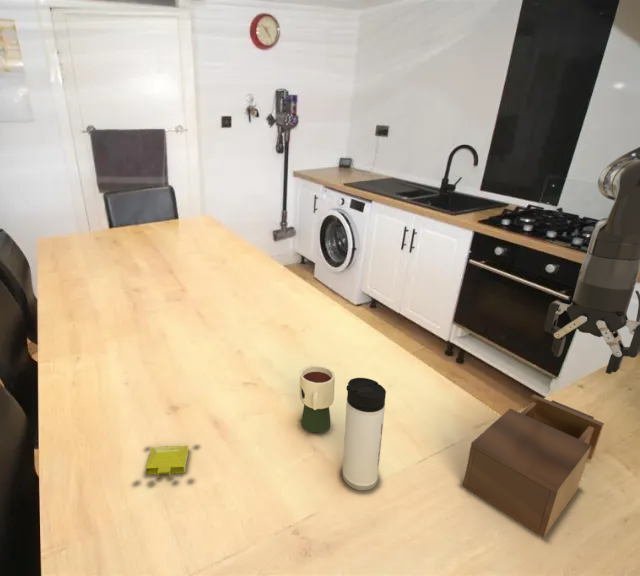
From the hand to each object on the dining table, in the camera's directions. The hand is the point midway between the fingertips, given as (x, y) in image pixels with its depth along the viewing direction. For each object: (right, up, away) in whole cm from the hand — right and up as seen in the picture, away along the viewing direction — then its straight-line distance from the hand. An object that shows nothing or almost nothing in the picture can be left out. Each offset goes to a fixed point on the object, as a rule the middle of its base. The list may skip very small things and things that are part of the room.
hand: (582, 363), depth 76 cm
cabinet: (-14, -21, -4) cm, 26 cm away
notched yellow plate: (-77, -20, +3) cm, 80 cm away
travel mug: (-42, -21, -1) cm, 47 cm away
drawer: (-4, -17, +3) cm, 18 cm away
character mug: (-48, -16, +13) cm, 52 cm away
